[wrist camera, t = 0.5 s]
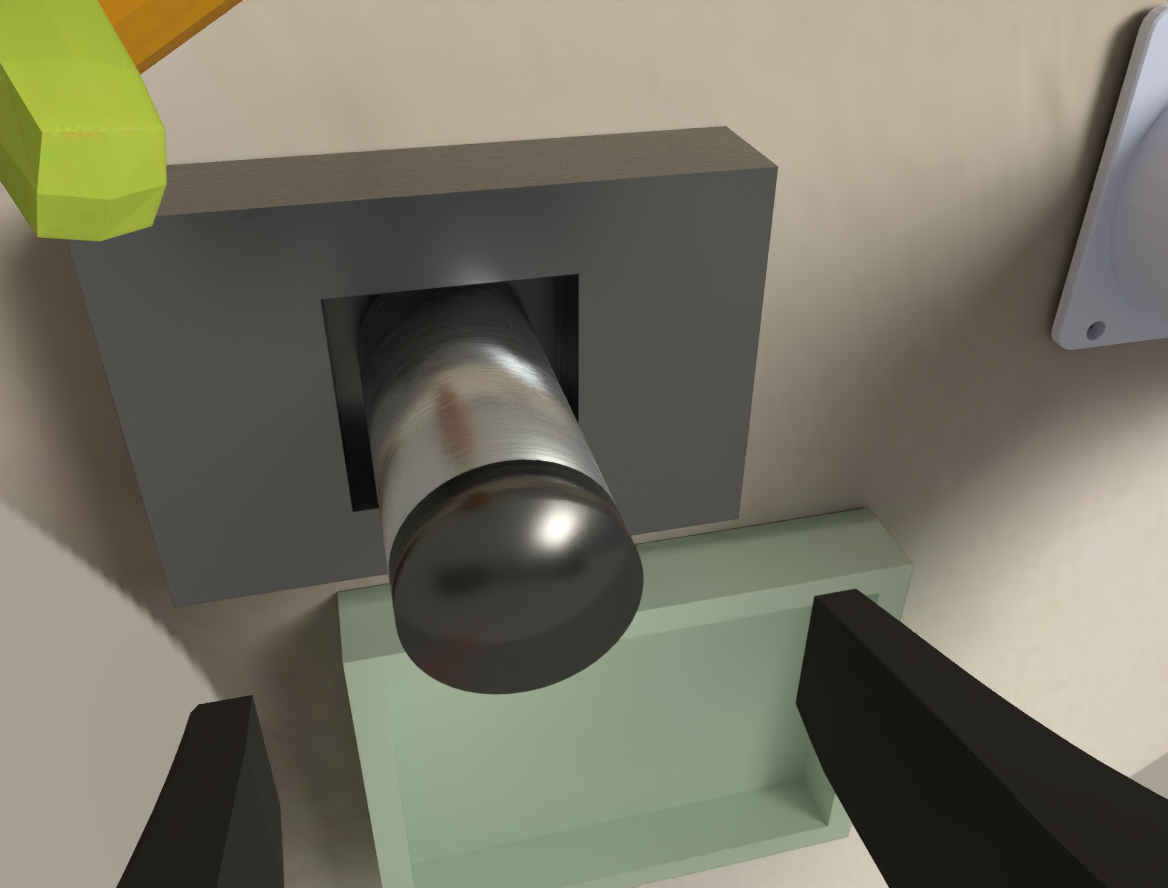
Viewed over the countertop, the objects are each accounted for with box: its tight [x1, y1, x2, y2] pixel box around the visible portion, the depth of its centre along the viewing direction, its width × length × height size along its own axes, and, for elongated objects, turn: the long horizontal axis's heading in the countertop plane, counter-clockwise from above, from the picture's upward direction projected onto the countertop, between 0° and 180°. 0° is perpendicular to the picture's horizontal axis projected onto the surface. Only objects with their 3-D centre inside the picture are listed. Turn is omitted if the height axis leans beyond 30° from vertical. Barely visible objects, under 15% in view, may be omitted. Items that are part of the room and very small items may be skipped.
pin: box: [357, 282, 644, 695], centre depth 18 cm, size 4×4×8 cm
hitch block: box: [66, 126, 778, 607], centre depth 20 cm, size 12×8×3 cm, turn 90°
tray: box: [337, 508, 914, 888], centre depth 28 cm, size 14×11×2 cm
